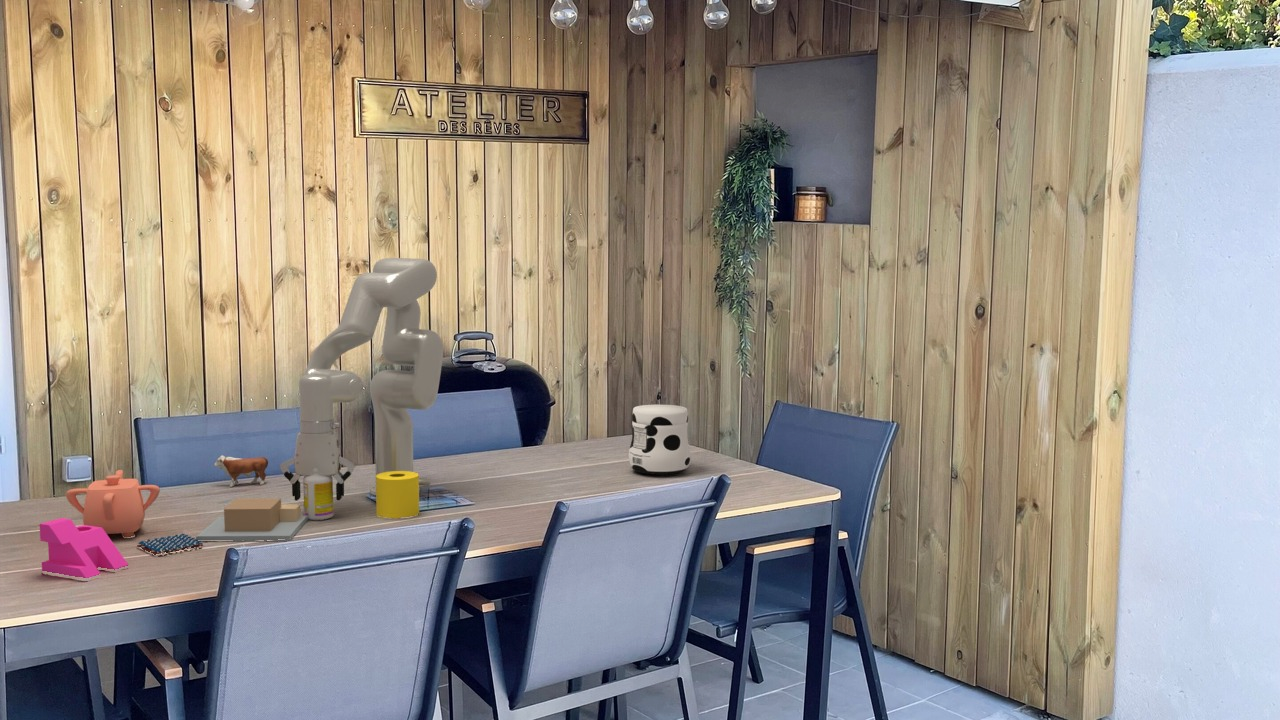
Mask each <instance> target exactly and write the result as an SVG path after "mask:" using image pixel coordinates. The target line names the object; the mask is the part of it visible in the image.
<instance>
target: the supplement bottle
mask: <svg viewBox="0 0 1280 720" xmlns="http://www.w3.org/2000/svg"><path fill="white" fill-rule="evenodd" d="M313 471H314V472H318V469H317V468H314V469H313ZM302 481H303V485H302V486H303V487H302V488H303V511H304V515H303V516H307V517H308V521H324V519H325V520H329V519H331V518H332V517H333V516H334V489H333V488H334V487H333V486H334V485H333V484H334V483H333V476H323V475H318V474H316V473H315V474H314V475H310V476H303V479H302Z"/></svg>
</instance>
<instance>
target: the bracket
mask: <svg viewBox="0 0 1280 720" xmlns="http://www.w3.org/2000/svg"><path fill="white" fill-rule="evenodd" d="M39 537H40V540H39V541H40V542H44V543H47V548H48V549H47V550H48V559H47V560H44V561H41V572H42V571H47V572H52V573H59V574H64V575H69V576H75V577H83V578H89V577H92V576H96V575H99V574H101V572H100V570H98V569H97V568H98V567H101V568H107V569H114V570H115V569H119V568H121V567H125V566H128V565H129V563H128V562H127V560H126V559H125V557H124V556H123V555H122V554H121V552H120V551H119V549H118V548H117V547H116V545H115V544H114V542H113V541H112V539H111V538H110V537H109V534H106V532H105V531H104V530H103V528H102V527H95V526H88V525H84V524H82V525H78V526H76V525H75V523H74V521H73V520H72V518H64V517H61V518H56V519H53V520H48V521H45V522H42V523H39ZM101 575H102V574H101Z"/></svg>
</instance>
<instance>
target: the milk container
mask: <svg viewBox="0 0 1280 720" xmlns="http://www.w3.org/2000/svg"><path fill="white" fill-rule="evenodd" d="M631 419H632V421H631V422H632V423H631V429H632V430H631V434H632V435H631V436H632V437H631V442H630V446H629V450H628V461H629V465H630V468H631V469H632V470H633V471H635V472H638V473H641V474H646V475H654V476H655V475H657V476H660V475H661V476H662V475H664V476H665V475H666V476H667V475H674V474H679V473H682V472H685V471H686V470H688V468H689V466H690V463H691V459H692V458H691V457H692V456H691V455H692V454H691V453H692V452H691V447H690V445H689V441H688V437H689V436H688V433H689V432H688V431H689V428H688V427H689V423H688V421H689V412H688V408H687V407H685V406H682V405H675V404H657V403H656V404H643V405H637V406H634V407H633V408H632V417H631Z"/></svg>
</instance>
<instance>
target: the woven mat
mask: <svg viewBox="0 0 1280 720" xmlns="http://www.w3.org/2000/svg"><path fill="white" fill-rule="evenodd" d="M136 547H137V548H139V547H141V548H142V549H143V550H146V551H148V552H150V551H151V553H153V554H154V555H156V554H161V553H162V554H164V553H165V552H166V553H169V552H176V551H179V550H184V549H185V548H187V549H191V548H194V547H204V545H203V542H201V541H198V539H196V537H192V536H190V535H188V534H185V533H181V534H174V535H172V536H171V535H167V536H165V537H164V536H163V537H162V536H161V537H158V538H157V537H155V538H152V539H147V540H144V541H143V540H140V541H139V542H138V544H137V545H136ZM190 547H191V548H190ZM194 549H195V548H194ZM143 550H142V551H143ZM184 551H185V550H184ZM176 553H177V552H176ZM169 554H170V553H169ZM154 555H153V556H154Z"/></svg>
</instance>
